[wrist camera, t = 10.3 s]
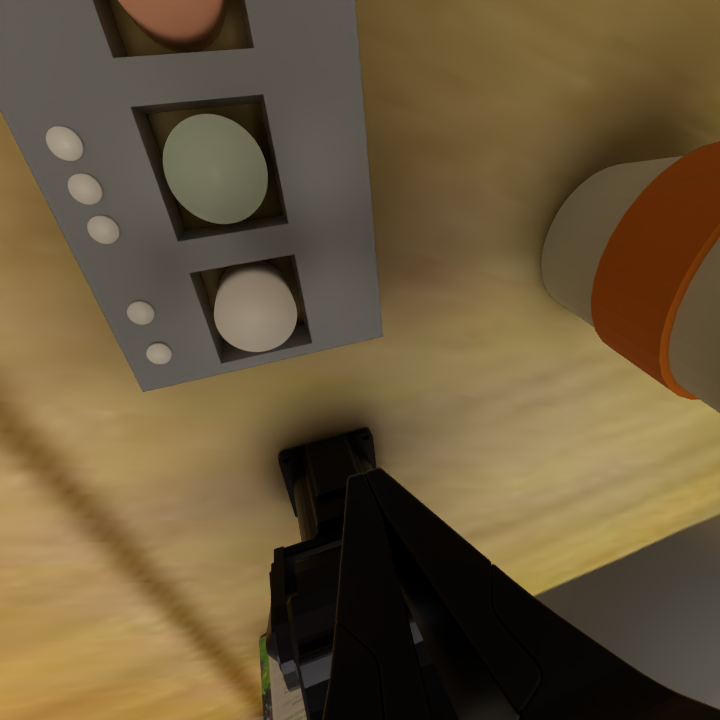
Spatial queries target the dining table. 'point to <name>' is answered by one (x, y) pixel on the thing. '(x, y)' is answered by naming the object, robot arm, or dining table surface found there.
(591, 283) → the reusable coffee cup
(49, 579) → the dining table surface
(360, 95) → the button panel
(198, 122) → the button sage
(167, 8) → the button terracotta
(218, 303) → the button cream
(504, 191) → the dining table surface
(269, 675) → the syrup box
